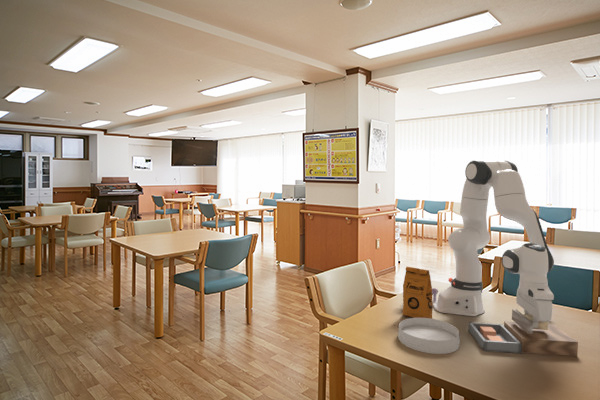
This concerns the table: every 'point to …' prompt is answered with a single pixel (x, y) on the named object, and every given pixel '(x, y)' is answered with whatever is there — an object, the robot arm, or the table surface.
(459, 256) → the robot arm
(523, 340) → the walnut board
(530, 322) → the scraper
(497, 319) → the table surface
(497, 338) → the terracotta tile
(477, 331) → the box
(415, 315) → the coffee package
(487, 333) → the terracotta tile
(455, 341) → the dish
